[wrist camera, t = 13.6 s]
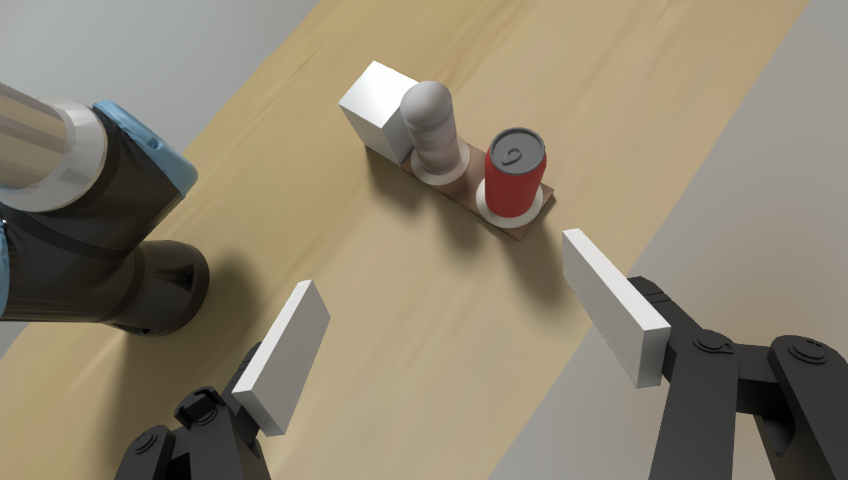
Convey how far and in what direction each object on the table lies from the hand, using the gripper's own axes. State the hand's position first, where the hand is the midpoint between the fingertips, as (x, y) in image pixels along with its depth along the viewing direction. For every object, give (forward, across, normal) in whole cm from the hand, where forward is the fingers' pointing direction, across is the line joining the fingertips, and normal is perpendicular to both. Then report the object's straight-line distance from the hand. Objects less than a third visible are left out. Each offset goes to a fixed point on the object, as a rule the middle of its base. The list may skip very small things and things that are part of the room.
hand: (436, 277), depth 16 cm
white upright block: (+40, -6, +1) cm, 40 cm away
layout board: (+32, +5, -6) cm, 33 cm away
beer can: (+28, +9, -8) cm, 30 cm away
